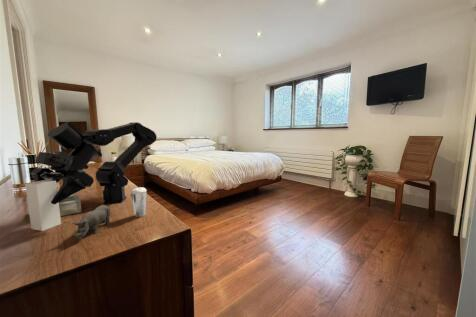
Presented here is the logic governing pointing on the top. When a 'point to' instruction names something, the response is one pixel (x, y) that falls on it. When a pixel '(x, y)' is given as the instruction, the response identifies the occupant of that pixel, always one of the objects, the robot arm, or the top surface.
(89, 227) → the rhino figurine
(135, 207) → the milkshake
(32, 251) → the top surface
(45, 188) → the peg
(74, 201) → the coin box
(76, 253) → the top surface
